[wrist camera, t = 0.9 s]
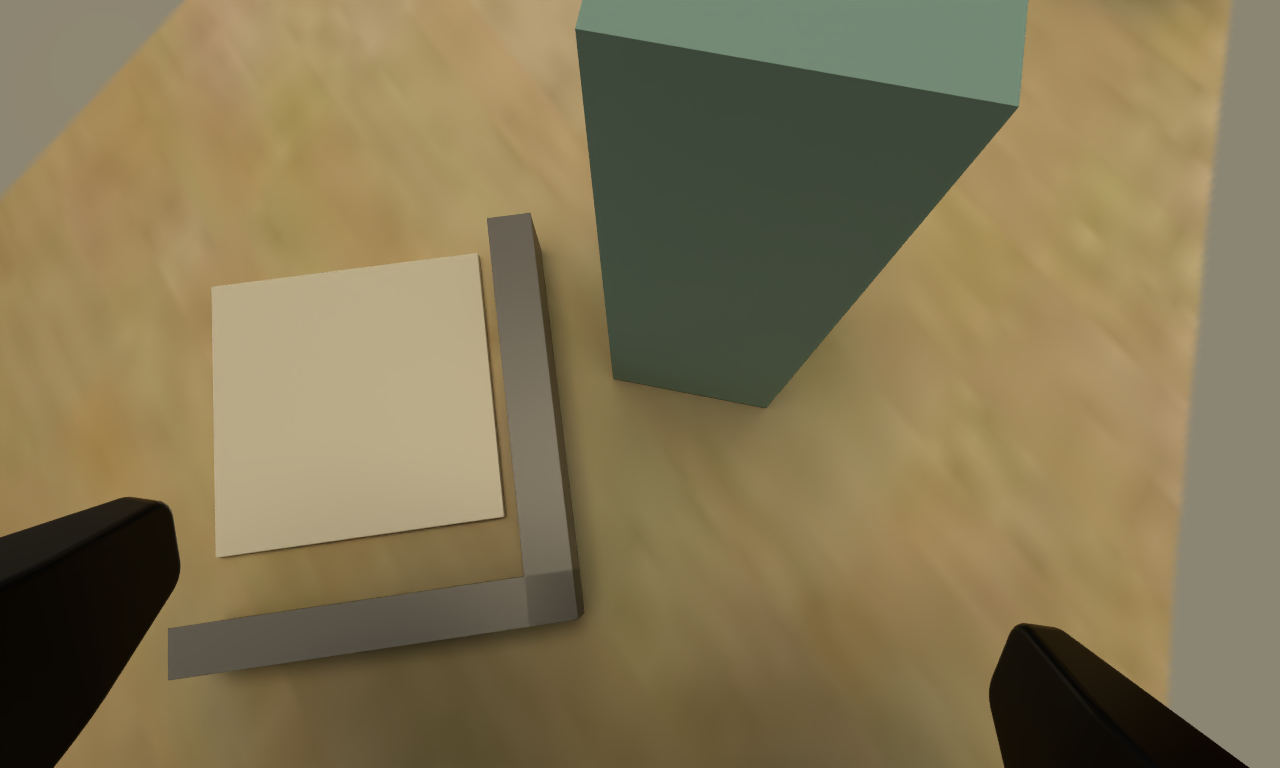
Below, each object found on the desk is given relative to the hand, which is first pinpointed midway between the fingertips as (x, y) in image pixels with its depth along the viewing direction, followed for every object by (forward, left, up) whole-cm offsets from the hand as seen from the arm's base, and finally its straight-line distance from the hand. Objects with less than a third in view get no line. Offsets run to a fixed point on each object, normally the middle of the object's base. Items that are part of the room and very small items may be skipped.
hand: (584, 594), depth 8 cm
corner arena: (+5, +6, -13) cm, 15 cm away
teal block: (+7, -4, -13) cm, 16 cm away
